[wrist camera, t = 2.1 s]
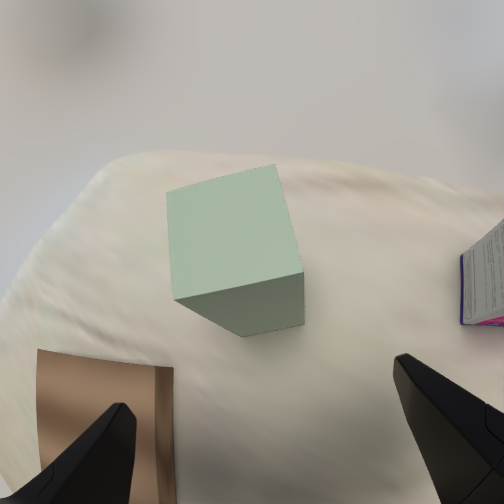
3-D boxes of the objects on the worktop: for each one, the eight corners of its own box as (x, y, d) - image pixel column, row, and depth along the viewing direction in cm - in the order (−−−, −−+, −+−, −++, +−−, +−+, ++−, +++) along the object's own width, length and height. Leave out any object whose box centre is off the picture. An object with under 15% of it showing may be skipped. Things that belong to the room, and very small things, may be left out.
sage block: (304, 324, 21) (303, 272, 10) (241, 337, 21) (173, 300, 10) (291, 264, 23) (275, 163, 12) (231, 278, 23) (166, 192, 12)
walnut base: (176, 507, 17) (160, 521, 14) (63, 470, 19) (42, 475, 16) (173, 367, 21) (155, 366, 18) (59, 353, 23) (37, 348, 20)
